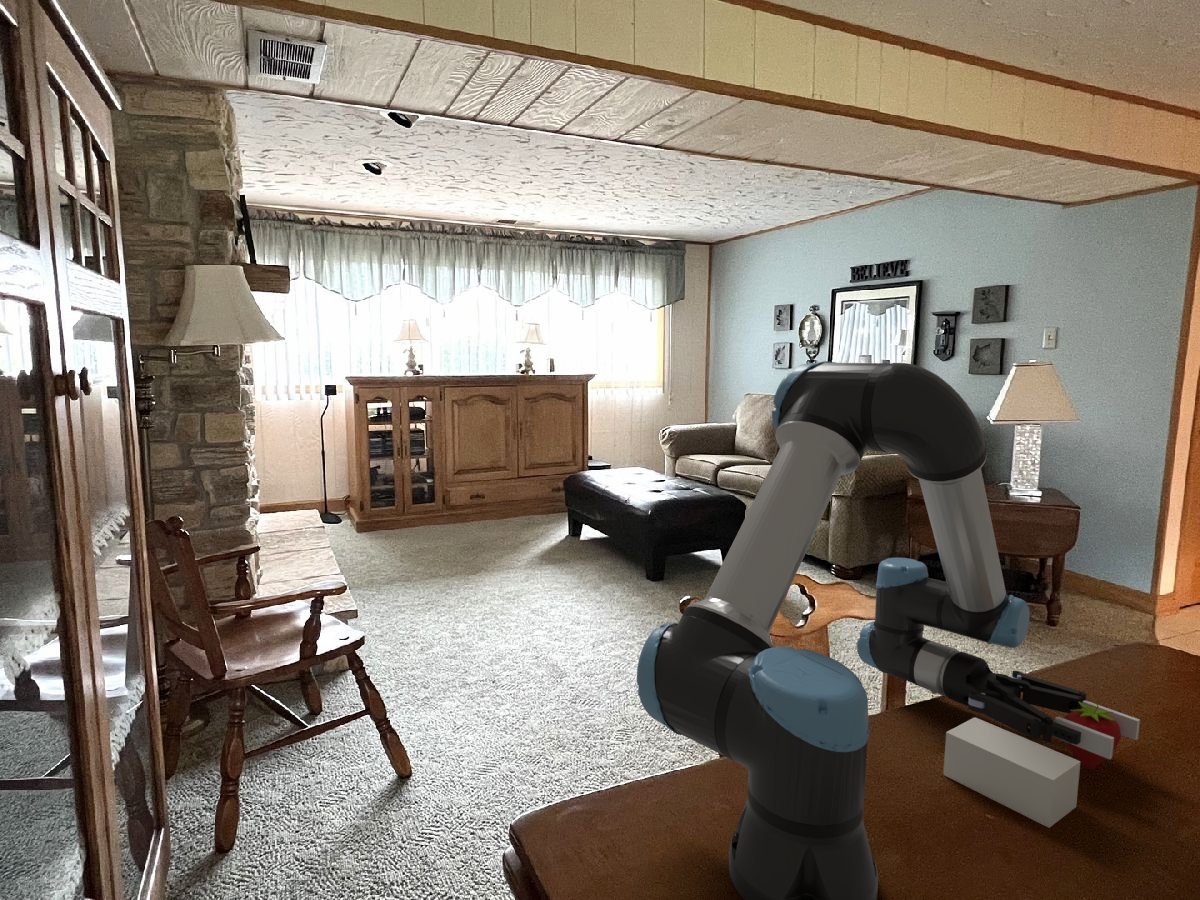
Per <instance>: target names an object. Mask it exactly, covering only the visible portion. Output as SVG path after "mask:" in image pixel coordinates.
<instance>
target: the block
mask: <svg viewBox="0 0 1200 900" xmlns="http://www.w3.org/2000/svg"><path fill="white" fill-rule="evenodd" d="M944 744H945V747H944V757H943V758H944V760H943V775H944V776H945V777H947V778H949V779H951V780H953V781H954V782H957V783H959V784H960V785H962V786H965V787H967V788H969V789H970V790H973V791H975V792H976V793H978V794H981V795H983V796H984V797H987V798H989V799H990V800H992V801H995V802H997V803H999V804H1001V805H1003V806H1004V807H1006V808H1008V809H1010V810H1013V811H1014V812H1017V813H1019V814H1021V815H1023V816H1025V817H1027V818H1028V819H1031V820H1032V821H1035V822H1036V823H1038V824H1041V826H1045V827H1046V828H1051V827H1053V826H1054V825H1055V824H1056V823H1058V822H1059V821H1060V820H1061V819H1063V818H1064V817H1065V816H1067V815H1068V814H1070V812H1072V811H1073V810H1075V809H1076V808H1077V804H1078V803H1077V801H1078V800H1077V799H1078V793H1079V792H1078V791H1079V780H1080V770H1081V763H1080V761H1079V760H1078V759H1077V758H1073V757H1071V756H1069V755H1066V754H1065V753H1061V752H1059V751H1056V750H1054V749H1052V748H1049V747H1047V746H1045V745H1042V744H1040V743H1037V742H1035V741H1032V740H1030V739H1028V738H1026V737H1024V736H1021V735H1018V734H1016V733H1013V732H1011V731H1009V730H1007V729H1003V728H1002V727H999V726H996V725H994V724H992V723H990V722H987V721H985V720H983V719H980V718H977V717H972V718H971V719H968V720H967V721H965V722H963V723H961V724H959V725H958V726H956V727H955V726H954V728H951V729H949V730H948V731H946V732H945V743H944Z"/></svg>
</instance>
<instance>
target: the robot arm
mask: <svg viewBox="0 0 1200 900" xmlns="http://www.w3.org/2000/svg"><path fill="white" fill-rule="evenodd" d="M772 403H773V404H774V408H773V409H771V419H772V425H773V429H774V431H775V435H774V436H775V440H776V441H775V442H776V443H777V445H778V447H779V450H778V452H777V454H776V456H775V458H774V460H773V462H772V464H771V466H770V468H769V470H768V472H767V473H766V476H765V477H764V480H763V482H762V484H761V486H760V488H759V489H758V492H757V494H756V496H755V498H754V499H753V502H752V503H751V506H750V508H749V510H748V512H747V514H746V516H745V518H744V520H743V522H742V524H741V525H740V528H739V530H738V532H737V534H736V536H735V538H734V540H733V542H732V544H731V546H730V548H729V550H728V552H727V554H726V556H725V558H724V560H723V561H722V564H721V566H720V568H719V569H718V571H717V574H716V576H715V578H714V580H713V582H712V584H711V586H710V588H709V590H708V592H707V594H706V596H705V598H704V599H703V600H700V601H696V602H693V603H690V604H688V605H687V606H686V607H685V609H684V612H683V613H682V616H681V618H680V619H679V622H676V621H675V622H668V623H664V624H661V625H660V626H659V627H656V628H655V629H654V630H653V631H652V632H651V633H650V634H649V636H648V637H647V638H646V640H645V642H644V644H643V645H642V648H641V652H640V655H639V657H638V663H637V668H636V670H637V671H636V684H637V687H638V690H637V693H638V696H639V697H638V698H639V700H640V703H641V705H642V708H643V709H644V710H645V712H646V713H647V714H648V716H650V717H651V718H652V719H653V720H654V721H657V722H658V723H660V724H662V725H663V726H665V727H666V728H667V729H669V730H670V731H671V732H672V733H674V734H676V735H682V736H684V737H685V738H687V739H690V740H691V741H693V742H695V743H698V744H699V745H702V746H703V747H705V748H707V749H709V750H711V751H714V752H715V753H717V754H719V755H722V757H725V758H728V759H729V760H732V761H733V762H735V763H737V764H739V765H741V766H743V767H744V768H746V770H747V772H748V773H747V786H748V787H747V800H746V802H745V804H744V807H743V809H742V812H741V815H740V817H739V820H738V822H737V825H736V827H735V830H734V832H733V834H732V836H731V838H730V839H731V840H730V843H729V844H730V845H729V850H728V851H729V857H728V871H729V877H730V879H731V882H732V884H733V886H734V888H735V891H737V893H738V894H739V895H740V898H742V899H743V900H878V889H879V888H878V886H879V873H878V868H877V863H876V860H875V858H874V856H873V854H872V852H871V847H870V843H869V840H868V839H869V838H868V835H867V831H866V828H865V825H864V824H865V823H864V802H865V790H866V789H865V787H866V771H867V755H868V743H869V742H868V740H869V737H870V734H871V733H870V730H871V729H870V727H871V726H870V720H869V702H868V701H869V700H868V694H867V691H866V689H865V687H864V685H863V683H862V681H861V680H860V679H859V677H858V676H857V675H856V674H855V673H854V671H852V670H851V669H850V668H848V667H847V666H846V665H845V664H843V663H842V662H840V661H838V660H836V659H834V658H833V657H830V656H828V655H825V654H823V653H820V652H818V651H815V650H810V649H806V648H802V649H796V648H794V646H776V647H775V645H774V643H773V640H772V638H771V635H770V633H771V630H772V628H773V626H774V623H775V622H776V619H777V617H778V615H779V613H780V610H781V608H782V605H783V604H784V602H785V599H786V597H787V596H788V593H789V590H790V588H791V586H792V584H793V582H794V580H795V578H796V576H797V573H798V571H799V568H800V566H801V564H802V562H803V559H804V558H805V555H806V553H807V551H808V549H809V547H810V545H811V542H812V541H813V538H814V535H815V533H816V532H817V529H818V526H819V524H820V522H821V520H822V518H823V516H824V514H825V511H826V509H827V507H828V505H829V502H830V501H831V498H832V496H833V494H834V491H835V489H836V487H837V485H838V483H839V480H840V479H841V476H844V475H848V474H851V473H853V472H855V471H857V469H858V467H859V466H860V464H861V461H862V459H863V457H864V455H865V452H868V451H869V452H877V453H878V452H880V453H892V454H896V455H897V456H899V457H902V458H903V459H904V461H905V466H906V469H907V471H908V472H909V474H910V475H911V476H912V477H914V478H916V479H917V480H918V482H919V486H920V488H921V489H920V490H921V493H922V496H923V501H924V503H925V507H926V511H927V514H928V519H929V523H930V526H931V529H932V533H933V538H934V542H935V546H936V549H937V552H938V555H939V559H940V560H939V561H940V564H941V567H942V570H943V575H944V578H945V581H943V580H940V579H935V578H932V577H931V578H930V577H929V572H928V567H927V565H926V564H925V563H924V562H923V561H918V560H916V559H913V558H907V557H888V558H885V559H884V560H882V561H880V562H879V564H878V568H877V569H878V570H877V576H876V577H877V578H876V584H875V606H874V607H875V608H874V609H875V610H874V611H875V613H874V621H869V622H868V623H866V624H865V625H864V626H863V627H862V628H861V630H860V632H859V638H858V639H857V641H856V642H857V643H856V651H857V654H858V657H859V659H860V660H861V661H862V662H863V663H864V664H866V665H867V666H870V667H872V668H874V669H876V670H878V671H879V672H881V673H883V674H886V675H890V676H893V677H896V678H898V679H901V680H903V681H906V682H909V683H911V684H913V685H916V686H918V687H921V688H923V689H924V690H927V691H930V692H931V694H933V695H936V694H937V695H940V696H943V697H946V698H947V699H949V700H951V701H953V702H957V703H959V704H961V705H963V706H966V707H967V709H968V710H969V711H972V712H975V713H977V714H981V715H984V716H985V717H988V718H990V719H993V720H994V721H997V722H999V723H1000V724H1003V725H1004V726H1007V727H1009V728H1011V729H1013V730H1015V731H1017V732H1019V733H1021V734H1023V735H1025V736H1028V737H1029V738H1032V739H1034V740H1039V739H1041V741H1043V742H1044V743H1051V742H1052V737H1053V738H1055V739H1058V740H1060V741H1063V742H1064V743H1065V742H1067V743H1070V744H1072V745H1075V746H1077V747H1080V748H1082V749H1085V750H1087V751H1090V752H1092V753H1095V754H1097V755H1100V756H1102V757H1105V758H1106V759H1107V760H1112V759H1113V752H1114V751H1113V744H1114V737H1111V736H1109V735H1106V734H1103V733H1101V732H1098V731H1095V730H1093V729H1090V728H1088V727H1085V726H1082V725H1080V724H1077V723H1074V722H1072V721H1069V720H1067V719H1064V717H1061V716H1056V717H1055V719H1054V718H1053V717H1052V716H1050V715H1048V714H1046V713H1045V712H1043V711H1041V710H1040V709H1038V708H1036V707H1040V708H1045V709H1048V710H1053V711H1056V712H1061V713H1066V714H1069V713H1071V712H1073V711H1070V710H1077V709H1083V708H1082V707H1081V705H1080V704H1079V703H1078V702H1081V703H1083V704H1085V705H1087V706H1089V707H1094V708H1095V709H1096V708H1097V705H1098V708H1097V711H1098V710H1099V709H1100V710H1106V711H1111V712H1113V713H1106V715H1108V716H1109V717H1111V718H1112V719H1114V720H1116V721H1117V722H1116V721H1115V722H1116V723H1117V724H1118V725H1119V727H1120V733H1121V737H1125V738H1128V739H1131V740H1133V741H1137V740H1138V738H1139V731H1140V723H1141V719H1139V718H1136V717H1133V716H1132V715H1131V716H1130V715H1128V714H1125V713H1123V712H1119V711H1118V710H1117V711H1116V710H1115V709H1114V710H1113V709H1111V708H1108V707H1105V706H1102V705H1100V704H1097V705H1096V703H1095V702H1091V701H1088V700H1087V699H1088V698H1087V695H1088V694H1087V693H1086V692H1084V691H1081V690H1078V689H1074V688H1071V687H1067V686H1065V685H1061V684H1057V683H1055V682H1052V681H1051V682H1050V681H1048V680H1044V679H1040V678H1037V677H1033V676H1031V675H1029V674H1026V673H1024V672H1022V671H1019V670H1012V674H1011V675H1010V676H1009V675H1007V674H1004V673H996V672H993V671H992V670H991V669H990V666H989V664H988V663H987V661H986V660H985V659H983V658H982V657H979V656H977V655H974V654H970V653H967V652H964V651H960V650H958V649H957V648H955V647H952V646H949V645H945V644H942V643H940V642H936V641H934V640H930V639H928V638H925V637H923V634H924V631H925V626H926V627H930V628H934V629H937V630H941V631H945V632H949V633H952V634H956V635H959V636H962V637H965V638H969V639H973V640H976V641H980V642H982V643H983V642H984V643H986V644H988V645H992V644H993V645H996V646H1002V647H1005V648H1010V649H1014V648H1017V647H1019V646H1020V645H1021V644H1022V643H1023V642H1024V641H1025V638H1026V637H1027V634H1028V630H1029V625H1030V618H1031V617H1030V616H1031V614H1030V613H1031V612H1030V611H1031V610H1030V606H1029V605H1028V603H1027V601H1025V600H1024V599H1022V598H1019V597H1016V596H1014V595H1013V594H1010V595H1008V594H1007V592H1006V586H1005V581H1004V576H1003V571H1002V566H1001V562H1000V561H1001V560H1000V558H999V557H1000V555H999V552H998V546H997V541H996V536H995V532H994V527H993V522H992V517H991V516H992V515H991V512H990V506H989V502H988V498H987V497H988V496H987V493H986V486H985V481H984V477H983V473H982V468H983V466H984V465H985V463H986V461H987V456H988V451H987V448H986V441H985V437H984V433H983V430H982V428H981V425H980V423H979V422H978V419H977V417H976V415H975V414H974V413H973V411H972V410H971V408H970V406H969V405H968V403H967V402H966V401H965V399H964V398H963V397H962V396H961V395H960V393H958V392H957V391H956V390H955V388H953V386H951V385H950V384H949V383H948V382H947V381H946V380H944V379H943V378H941V376H939V375H938V374H936V373H934V372H932V370H931V371H930V370H929V369H926V368H924V367H922V366H918V365H917V364H912V363H908V362H892V363H891V362H890V363H887V362H886V363H885V362H883V363H882V362H877V363H876V362H834V361H829V360H827V361H826V360H824V361H819V362H809V363H804V364H800V365H798V366H796V367H794V368H793V369H791V370H789V372H788V373H787V374H786V375H785V376H784V378H782V379H781V381H780V383H779V385H778V387H777V389H776V391H775V394H774V397H773V401H772ZM1021 696H1022V697H1021ZM1041 736H1042V738H1041Z"/></svg>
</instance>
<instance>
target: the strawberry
mask: <svg viewBox="0 0 1200 900" xmlns="http://www.w3.org/2000/svg"><path fill="white" fill-rule="evenodd" d="M1089 697H1090V698H1091V699H1092V700H1093V703H1094V704H1096V705H1097V708H1098V705H1099V704H1098V703H1097V702H1096V700H1095V699H1094V698H1093V696H1092V695H1091V694H1089ZM1078 703H1079V704H1080V705H1081V707H1082V708H1083V709H1077V710H1070V711H1073V712H1071V713H1067V714H1066V715H1065V716H1064V717H1063V718H1064V719H1067V720H1069V721H1072V722H1074V723H1077V724H1080V725H1082V726H1085V727H1088V728H1090V729H1093V730H1095V731H1098V732H1101V733H1103V734H1106V735H1109V736H1111V737H1114V744H1113V752H1115V751H1116V749H1117V746H1118V744H1119V743H1120V740H1121V738H1122V735H1121V733H1120V727H1119V725H1118V724H1117V723H1116V722H1117V721H1116V720H1114V719H1112V718H1111V717H1109V716H1108V715H1106V713H1113V712H1111V711H1106V710H1100V709H1099V710H1098V711H1097V708H1096V709H1095V708H1094V707H1089V706H1087V705H1085V704H1083V703H1081V702H1078ZM1115 721H1116V722H1115ZM1064 743H1065V744H1066V746H1067V747H1068V749H1069V751H1070V752H1071V754H1072V755H1073V756H1074V757H1075V759H1076V760H1078V761H1080V766H1082V768H1084V769H1086V770H1093V769H1095V768H1096V767H1097V766H1098V765H1099V764H1101V763H1102V762H1104V761H1105V760H1106V759H1107V758H1105V757H1102V756H1100V755H1097V754H1095V753H1092V752H1090V751H1087V750H1085V749H1082V748H1080V747H1077V746H1075V745H1072V744H1070V743H1067V742H1065V741H1064Z"/></svg>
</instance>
